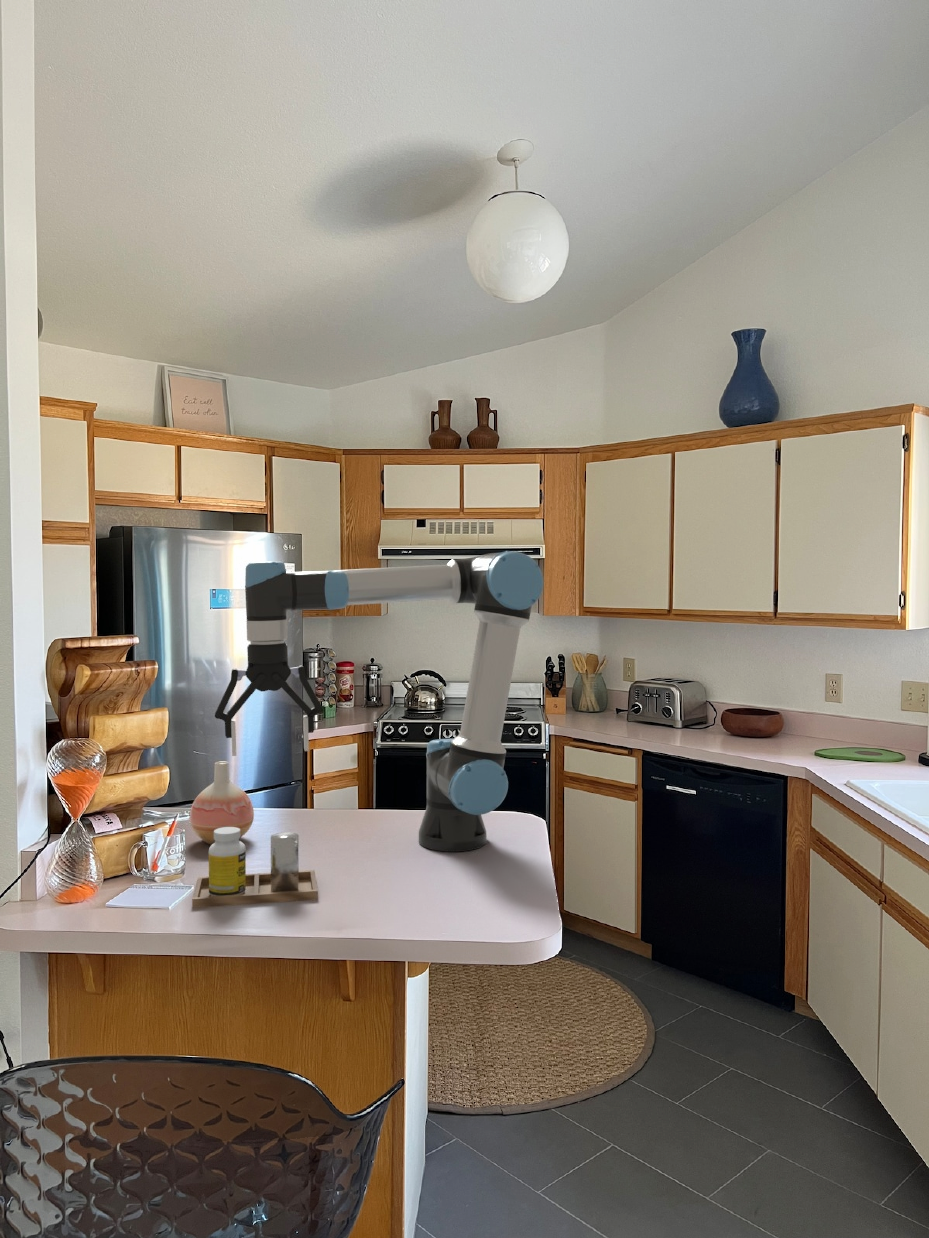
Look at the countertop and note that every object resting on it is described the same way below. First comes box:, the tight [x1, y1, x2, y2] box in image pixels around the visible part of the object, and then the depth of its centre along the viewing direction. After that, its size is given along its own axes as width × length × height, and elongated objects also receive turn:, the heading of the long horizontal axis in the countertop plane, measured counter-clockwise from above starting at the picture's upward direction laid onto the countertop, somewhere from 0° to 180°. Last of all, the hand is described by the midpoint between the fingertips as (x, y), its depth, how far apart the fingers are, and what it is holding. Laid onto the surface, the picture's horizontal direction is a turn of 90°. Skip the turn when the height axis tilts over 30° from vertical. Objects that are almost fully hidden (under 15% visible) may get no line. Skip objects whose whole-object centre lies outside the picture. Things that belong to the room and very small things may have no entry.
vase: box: [189, 760, 255, 846], centre depth 196 cm, size 14×14×18 cm
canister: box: [270, 831, 300, 892], centre depth 162 cm, size 5×5×10 cm
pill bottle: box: [208, 827, 247, 896], centre depth 160 cm, size 6×6×12 cm
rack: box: [191, 869, 319, 909], centre depth 161 cm, size 21×12×3 cm, turn 102°
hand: (270, 752), depth 171 cm, fingers open, 13 cm apart
